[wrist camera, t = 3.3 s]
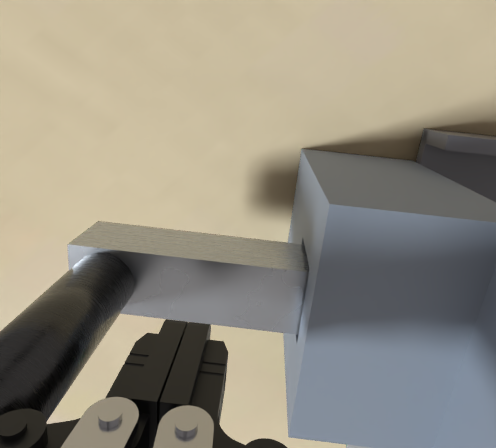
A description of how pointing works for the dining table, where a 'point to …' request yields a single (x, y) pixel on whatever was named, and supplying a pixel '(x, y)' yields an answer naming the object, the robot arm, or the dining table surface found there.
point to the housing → (392, 307)
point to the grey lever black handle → (144, 299)
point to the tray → (461, 159)
